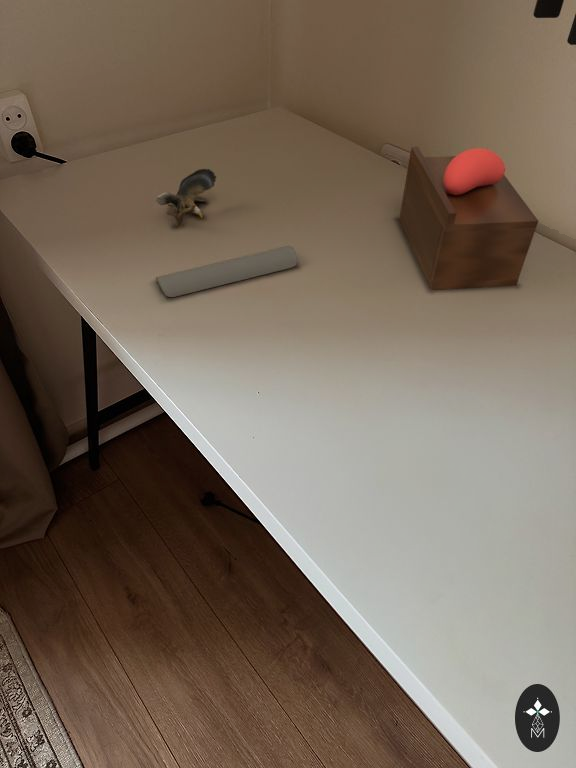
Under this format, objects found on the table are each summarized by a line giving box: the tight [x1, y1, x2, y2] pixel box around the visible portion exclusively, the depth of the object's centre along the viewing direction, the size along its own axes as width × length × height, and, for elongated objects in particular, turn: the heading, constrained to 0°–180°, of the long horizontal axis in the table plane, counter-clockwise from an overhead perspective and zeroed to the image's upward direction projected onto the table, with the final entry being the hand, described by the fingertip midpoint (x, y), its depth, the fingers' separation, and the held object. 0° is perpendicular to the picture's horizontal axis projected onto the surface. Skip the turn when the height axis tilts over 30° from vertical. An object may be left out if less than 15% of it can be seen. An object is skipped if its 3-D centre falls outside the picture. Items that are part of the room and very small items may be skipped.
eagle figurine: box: [155, 168, 217, 228], centre depth 96 cm, size 8×7×9 cm
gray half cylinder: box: [155, 245, 298, 298], centre depth 86 cm, size 4×20×2 cm, turn 115°
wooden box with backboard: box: [398, 146, 539, 291], centre depth 88 cm, size 12×18×12 cm, turn 7°
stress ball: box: [443, 147, 506, 195], centre depth 84 cm, size 5×9×6 cm, turn 110°
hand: (562, 29), depth 75 cm, fingers open, 9 cm apart
